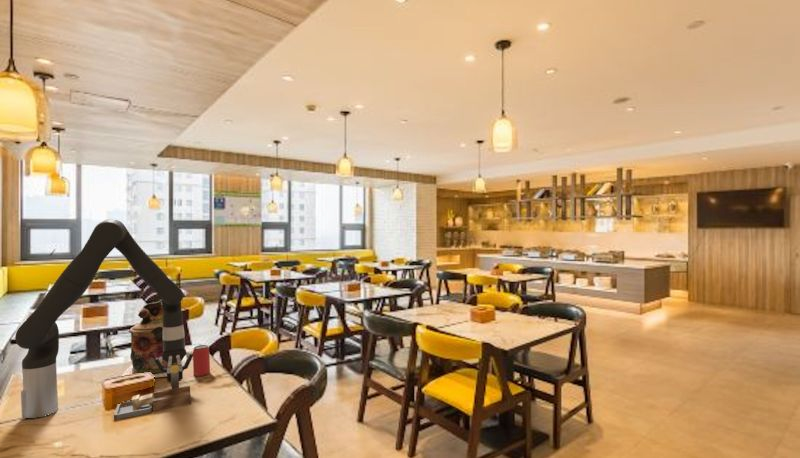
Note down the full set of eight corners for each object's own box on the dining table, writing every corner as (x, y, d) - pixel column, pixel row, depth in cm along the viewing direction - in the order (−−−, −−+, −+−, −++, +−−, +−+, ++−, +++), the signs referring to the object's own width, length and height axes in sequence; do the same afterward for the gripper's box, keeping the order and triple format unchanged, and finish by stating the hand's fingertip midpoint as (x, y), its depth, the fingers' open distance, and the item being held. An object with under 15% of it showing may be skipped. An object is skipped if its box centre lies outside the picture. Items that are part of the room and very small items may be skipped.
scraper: (171, 391, 163) (170, 365, 163) (171, 387, 167) (170, 362, 167) (179, 390, 165) (178, 364, 164) (179, 386, 168) (178, 361, 168)
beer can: (198, 377, 182) (197, 349, 182) (190, 374, 186) (189, 347, 186) (213, 373, 187) (212, 346, 187) (205, 370, 191) (204, 343, 191)
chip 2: (140, 406, 150) (139, 400, 150) (141, 402, 154) (140, 396, 154) (153, 402, 152) (152, 396, 152) (153, 398, 156) (152, 393, 155)
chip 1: (140, 409, 150) (133, 411, 149) (141, 405, 154) (134, 407, 153) (138, 398, 150) (131, 400, 149) (139, 394, 154) (132, 396, 153)
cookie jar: (132, 365, 201) (130, 298, 200) (190, 359, 208) (187, 294, 207) (113, 384, 177) (111, 307, 177) (179, 376, 184) (176, 303, 184)
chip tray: (113, 420, 143) (113, 415, 143) (118, 406, 154) (118, 402, 154) (151, 412, 148) (151, 408, 148) (153, 400, 159) (153, 396, 159)
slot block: (152, 411, 150) (152, 401, 150) (154, 401, 158) (153, 392, 158) (190, 403, 155) (190, 394, 155) (190, 394, 164) (190, 385, 164)
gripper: (152, 342, 159) (153, 388, 159) (193, 336, 166) (195, 380, 166) (153, 337, 166) (155, 381, 166) (193, 332, 172) (194, 375, 172)
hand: (175, 381), depth 166 cm, fingers closed on scraper, 2 cm apart
